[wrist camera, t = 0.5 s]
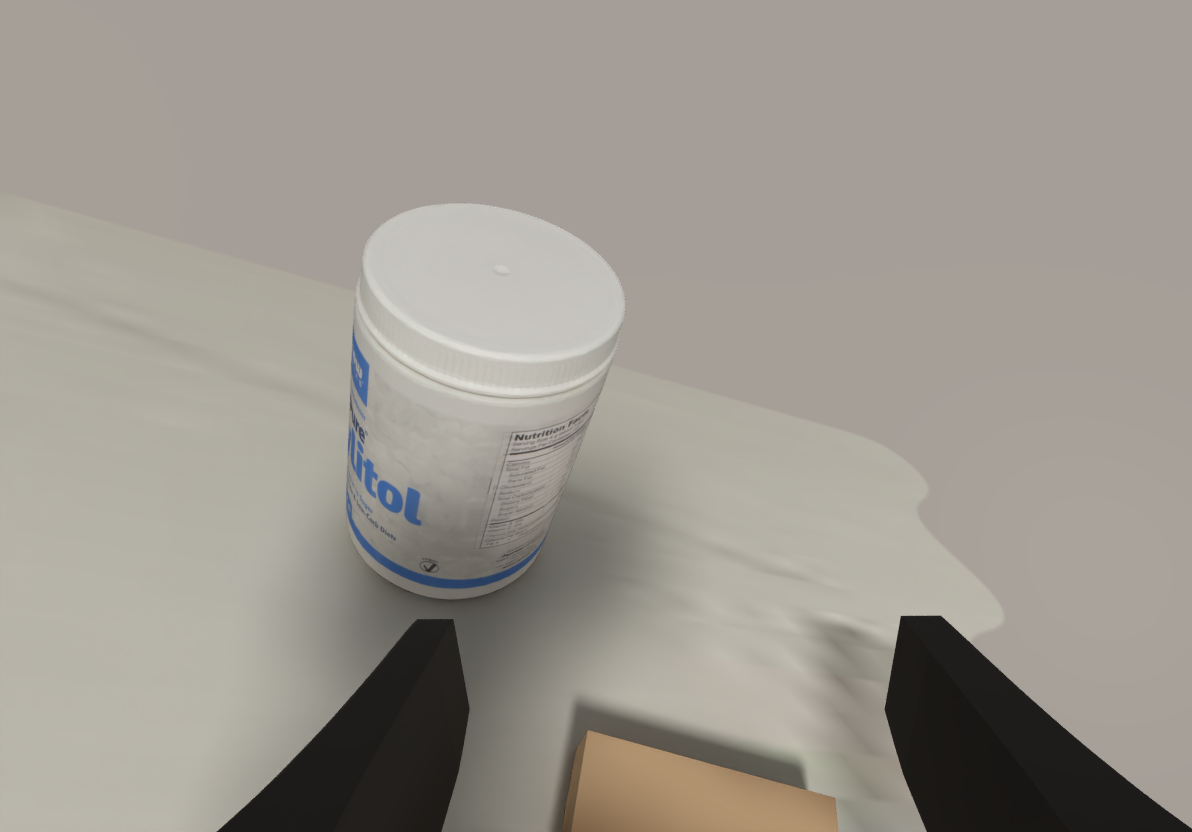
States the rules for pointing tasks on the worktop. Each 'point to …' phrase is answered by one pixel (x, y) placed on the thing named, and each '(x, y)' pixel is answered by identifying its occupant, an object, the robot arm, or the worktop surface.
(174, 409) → the worktop surface
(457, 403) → the supplement tub
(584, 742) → the slab
